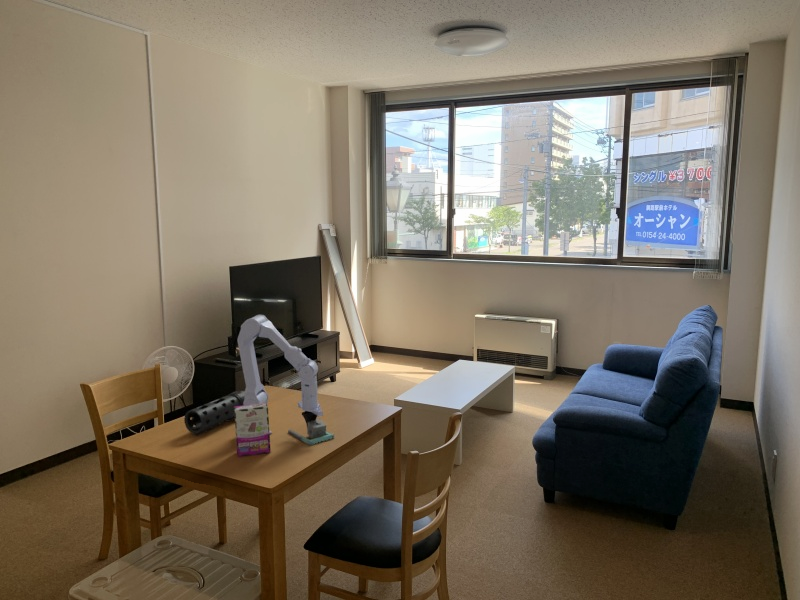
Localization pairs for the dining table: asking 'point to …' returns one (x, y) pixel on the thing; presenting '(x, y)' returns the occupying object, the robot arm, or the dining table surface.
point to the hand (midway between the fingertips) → (311, 430)
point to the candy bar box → (252, 429)
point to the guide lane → (312, 441)
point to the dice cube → (316, 429)
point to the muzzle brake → (213, 413)
